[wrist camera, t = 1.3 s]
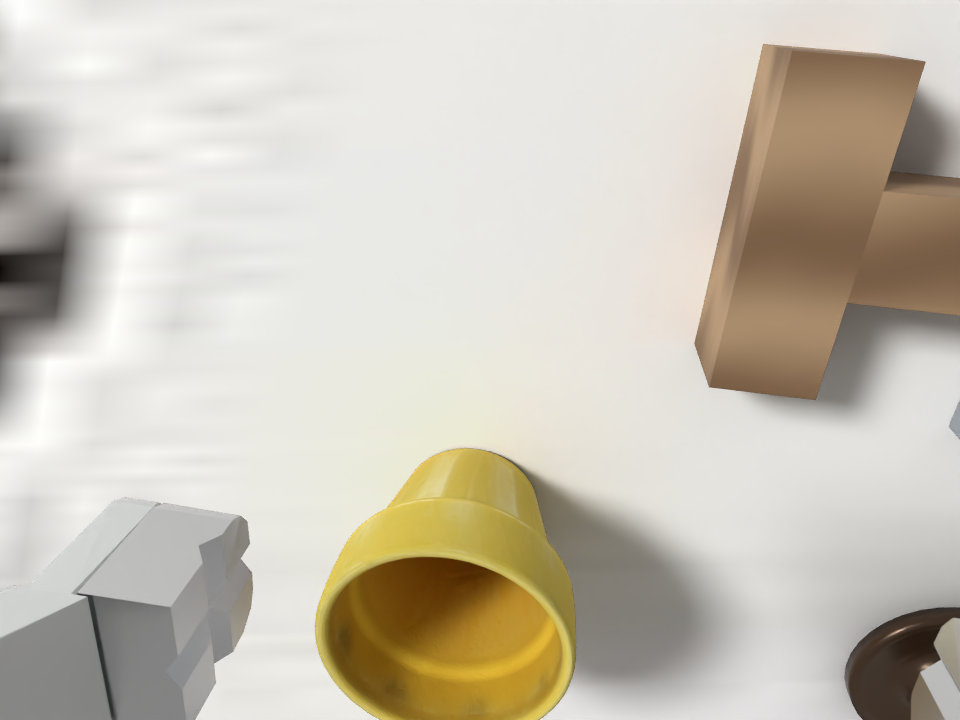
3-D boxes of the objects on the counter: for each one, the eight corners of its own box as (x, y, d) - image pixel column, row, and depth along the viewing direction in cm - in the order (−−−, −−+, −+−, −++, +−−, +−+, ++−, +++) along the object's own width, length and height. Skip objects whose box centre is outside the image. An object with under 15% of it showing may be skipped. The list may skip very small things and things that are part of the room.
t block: (763, 44, 26) (792, 50, 22) (1115, 73, 25) (1204, 85, 21) (694, 343, 31) (709, 387, 28) (982, 377, 30) (1035, 426, 27)
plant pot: (615, 467, 35) (626, 623, 26) (522, 605, 39) (505, 777, 31) (418, 378, 34) (362, 508, 25) (347, 530, 38) (279, 684, 30)
